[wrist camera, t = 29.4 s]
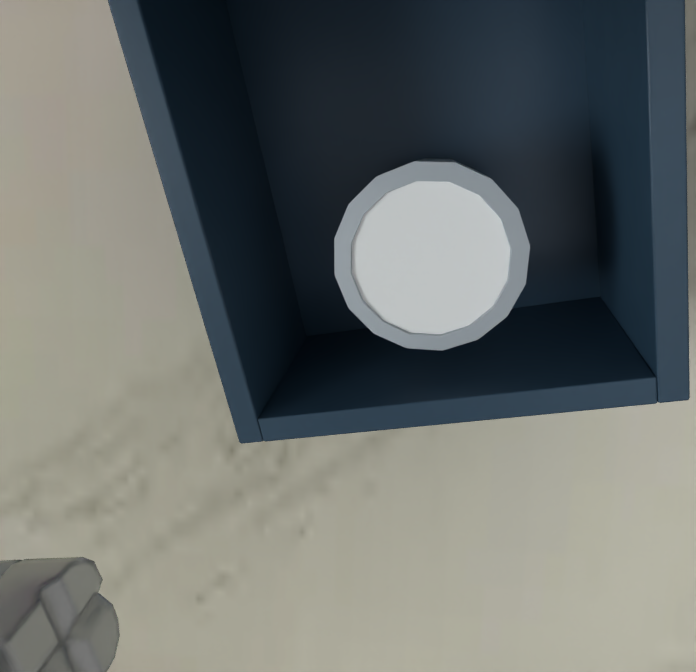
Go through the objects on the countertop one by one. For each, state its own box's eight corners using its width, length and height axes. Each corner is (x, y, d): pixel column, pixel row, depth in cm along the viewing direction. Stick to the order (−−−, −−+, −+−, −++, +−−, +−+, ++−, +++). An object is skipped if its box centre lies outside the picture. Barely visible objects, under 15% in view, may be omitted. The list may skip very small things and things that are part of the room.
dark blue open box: (619, 306, 29) (690, 400, 20) (296, 348, 33) (239, 444, 24) (595, -147, 23) (682, -289, 14) (201, -36, 26) (78, -95, 18)
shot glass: (377, 127, 27) (352, 139, 20) (533, 161, 26) (559, 185, 20) (346, 275, 30) (316, 327, 23) (487, 309, 29) (497, 372, 23)
